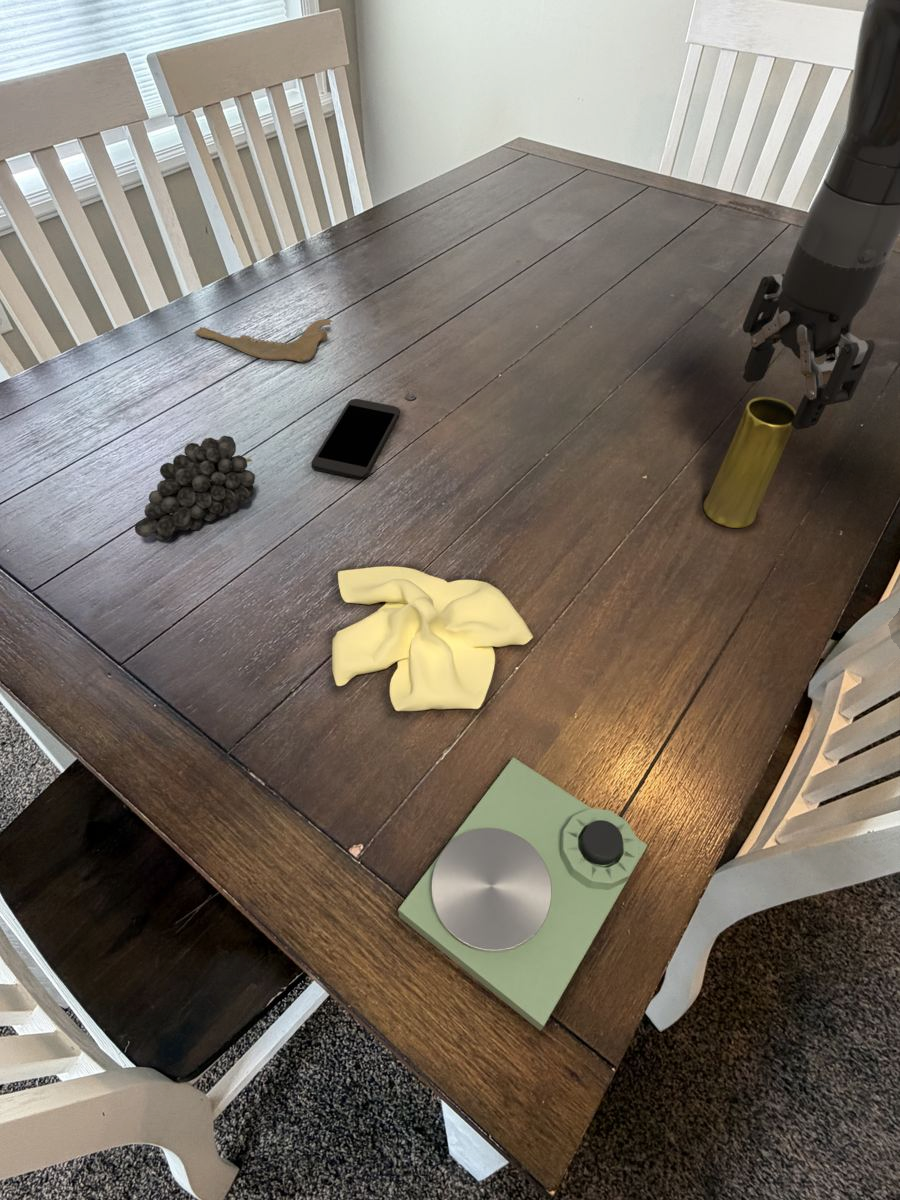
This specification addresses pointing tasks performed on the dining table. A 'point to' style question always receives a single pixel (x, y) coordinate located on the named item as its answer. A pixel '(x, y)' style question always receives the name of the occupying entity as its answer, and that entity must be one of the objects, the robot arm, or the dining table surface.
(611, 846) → the button
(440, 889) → the weighing plate
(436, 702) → the cloth
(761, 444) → the vase
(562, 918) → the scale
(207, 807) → the dining table surface
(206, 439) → the fruit
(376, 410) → the smartphone
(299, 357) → the jawbone
